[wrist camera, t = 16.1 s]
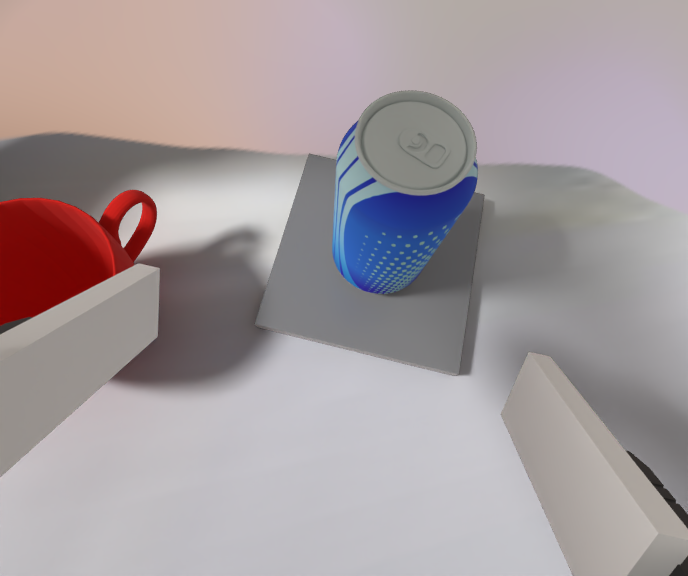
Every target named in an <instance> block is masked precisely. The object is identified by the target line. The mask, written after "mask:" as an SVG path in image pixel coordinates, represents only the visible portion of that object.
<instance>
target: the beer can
mask: <svg viewBox="0 0 688 576" xmlns="http://www.w3.org/2000/svg"><path fill="white" fill-rule="evenodd" d="M476 149H477V142H476V137H475V133H474V130H473V128H472V126H471V124H470V122H469V121H468V119H467V118H466V116H465V115H464V114H463V113H462V112H461V111H460V110H459V109H458V108H457V107H456V106H454V105H453V104H452V103H450V102H449V101H447V100H445V99H443V98H441V97H439V96H436V95H434V94H431V93H427V92H421V91H399V92H394V93H390V94H387V95H385V96H383V97H381V98H379V99H377V100H376V101H374V102H373V103H372V104H371V105H369V106H368V107H367V108H366V109H365V111H364V112H363V113H362V115H361V117H360V118H359V120H358V121H357V122H356V123H355V124H354V125H353V126H352V127H351V128H350V129H349V131H348V132H347V133H346V135H345V136H344V138H343V140H342V142H341V144H340V147H339V150H338V154H337V161H336V179H335V199H334V220H333V240H332V253H333V258H334V262H335V264H336V267H337V269H338V270H339V272H340V273H341V275H342V276H343V277H344V278H345V279H346V280H347V281H348V282H349V283H350V284H352V285H353V286H355V287H356V288H358V289H360V290H363V291H366V292H369V293H374V294H388V293H393V292H396V291H399V290H401V289H403V288H405V287H407V286H408V285H410V284H411V283H412V282H413V281H414V280H415V279H416V278H417V277H418V275H419V274H420V273H421V271H422V270H423V268H424V267H425V265H426V264H427V263H428V261H429V260H430V258H431V257H432V255H433V254H434V252H435V251H436V250H437V248H438V247H439V245H440V244H441V242H442V241H443V240H444V238H445V237H446V235H447V234H448V232H449V231H450V229H451V228H452V227H453V225H454V224H455V222H456V221H457V219H458V218H459V216H460V215H461V214H462V212H463V211H464V209H465V208H466V206H467V205H468V203H469V202H470V200H471V198H472V196H473V194H474V191H475V188H476V184H477V176H478V167H477V160H476Z"/></svg>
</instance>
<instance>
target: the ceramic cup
mask: <svg viewBox="0 0 688 576" xmlns="http://www.w3.org/2000/svg"><path fill="white" fill-rule="evenodd" d="M141 202H142V215H141V219H140V222H139V224H138V226H137V228H136V230H135V232H134V233H133V235H132V237H131V238H130V240H129V241H128V243H127V244H126V246H125V247H124V248H123V247H122V246H121V241H120V239H119V234H118V230H119V225H120V223H121V220H122V218H123V217H124V215H125V214H126V212H127V211H128V210H129V209H130V208H131V207H133V206H134V205H136V204H138V203H141ZM156 219H157V210H156V205H155V203H154V201H153V200H152V199H151V198H150V197H149V196H148V195H147V194H145V193H144V192H142V191H139V190H128V191H125V192H123V193H121V194H119V195H118V196H117V197H115V198H114V199H113V200H112V201H111V203H110V204H109V205H108V206H107V208H106V209H105V211H104V213H103V215H102V217H101V219H100V221H99V223H98V222H97V221H96V220H95V219H94V218H93V217H92V216H90V215H88V214H87V213H85V212H84V211H82V210H80V209H79V208H77V207H75V206H72V205H70V204H67V203H64V202H61V201H57V200H51V199H44V198H20V199H14V200H9V201H3V202H0V326H1V325H3V324H5V323H9V322H12V321H16V320H20V319H23V318H27V317H35V316H37V315H39V314H41V313H43V312H45V311H47V310H49V309H51V308H53V307H55V306H57V305H59V304H60V303H62V302H64V301H66V300H68V299H70V298H72V297H74V296H76V295H78V294H80V293H82V292H84V291H86V290H88V289H90V288H92V287H94V286H95V285H97V284H99V283H101V282H103V281H105V280H107V279H109V278H111V277H113V276H115V275H117V274H119V273H121V272H123V271H125V270H127V269H128V268H130V267H132V266H134V263H133V262H134V261H135V260H136V258H137V257H138V255H139V254H140V252H141V251H142V249H143V248H144V246H145V245H146V243H147V241H148V240H149V238H150V236H151V234H152V232H153V230H154V227H155V224H156Z"/></svg>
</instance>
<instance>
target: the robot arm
mask: <svg viewBox="0 0 688 576" xmlns="http://www.w3.org/2000/svg"><path fill="white" fill-rule="evenodd" d="M159 284H160V268H157V267H153V266H148V265H144V264H139V263H138V264H136V265H134V266H132V267H130V268H128V269H127V270H125V271H123V272H121V273H119V274H117V275H115V276H113V277H111V278H109V279H107V280H105V281H103V282H101V283H99V284H97V285H95V286H94V287H92V288H90V289H88V290H86V291H84V292H82V293H80V294H78V295H76V296H74V297H72V298H70V299H68V300H66V301H64V302H62V303H60V304H59V305H57V306H55V307H53V308H51V309H49V310H47V311H45V312H43V313H41V314H39V315H37V316H35V317H27V318H23V319H20V320H16V321H12V322H9V323H5V324H3V325H1V326H0V477H1V476H2V475H3V474H4V473H6V472H7V471H8V470H9V469H10V468H11V467H12V466H13V465H15V464H16V463H17V462H18V461H19V460H20V459H21V458H22V457H23V456H25V455H26V454H27V453H28V452H29V451H30V450H31V449H32V448H34V447H35V446H36V445H37V444H38V443H39V442H40V441H41V440H43V439H44V438H45V437H46V436H47V435H48V434H49V433H50V432H51V431H53V430H54V429H55V428H56V427H57V426H58V425H59V424H60V423H62V422H63V421H64V420H65V419H66V418H67V417H68V416H69V415H71V414H72V413H73V412H74V411H75V410H76V409H77V408H78V407H79V406H81V405H82V404H83V403H84V402H85V401H86V400H87V399H88V398H90V397H91V396H92V395H93V394H94V393H95V392H96V391H97V390H99V389H100V388H101V387H102V386H103V385H104V384H105V383H106V382H107V381H109V380H110V379H111V378H112V377H113V376H114V375H115V374H116V373H118V372H119V371H120V370H121V369H122V368H123V367H124V366H125V365H127V364H128V363H129V362H130V361H131V360H132V359H133V358H134V357H135V356H137V355H138V354H139V353H140V352H141V351H142V350H143V349H144V348H146V347H147V346H148V345H149V344H150V343H151V342H152V341H153V340H155V339H156V338H157V337H158V315H159ZM501 416H502V418H503V421H504V423H505V425H506V427H507V429H508V432H509V434H510V436H511V438H512V441H513V443H514V445H515V447H516V450H517V452H518V454H519V456H520V459H521V461H522V463H523V465H524V467H525V470H526V472H527V474H528V476H529V479H530V481H531V483H532V485H533V488H534V490H535V492H536V494H537V496H538V499H539V501H540V503H541V505H542V508H543V510H544V512H545V514H546V517H547V519H548V521H549V523H550V525H551V528H552V530H553V532H554V534H555V537H556V539H557V541H558V543H559V546H560V548H561V550H562V552H563V554H564V557H565V559H566V561H567V563H568V566H569V568H570V570H571V572H572V575H573V576H688V514H687V513H686V512H685V511H684V510H683V508H682V507H681V506H680V505H679V504H676V500H675V499H674V497H673V496H672V495H671V494H670V493H669V491H668V490H667V489H664V488H663V486H664V485H663V484H662V483H661V482H660V481H659V479H658V478H657V477H656V476H655V475H654V473H653V472H652V471H651V470H650V468H649V467H647V466H646V465H645V464H644V463H643V462H641V461H640V460H639V459H638V458H637V457H635V456H634V455H633V454H632V453H631V452H630V451H626V450H624V448H623V447H622V446H621V445H620V443H619V442H618V441H617V440H616V438H615V437H614V436H613V434H612V433H611V432H610V431H609V429H608V428H607V427H606V426H605V424H604V423H603V422H602V421H601V419H600V418H599V417H598V416H597V414H596V413H595V412H594V411H593V409H592V408H591V407H590V406H589V404H588V403H587V402H586V401H585V399H584V398H583V397H582V396H581V394H580V393H579V392H578V391H577V389H576V388H575V387H574V386H573V384H572V383H571V382H570V381H569V379H568V378H567V377H566V376H565V374H564V373H563V372H562V371H561V369H560V368H559V367H558V366H557V364H556V363H555V362H554V360H553V359H552V358H551V357H550V356H546V355H541V354H537V353H533V352H528V354H527V357H526V359H525V361H524V363H523V366H522V368H521V370H520V372H519V374H518V377H517V379H516V381H515V383H514V386H513V388H512V390H511V392H510V395H509V397H508V399H507V401H506V403H505V406H504V408H503V410H502V412H501Z"/></svg>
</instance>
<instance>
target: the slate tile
mask: <svg viewBox="0 0 688 576" xmlns="http://www.w3.org/2000/svg"><path fill="white" fill-rule="evenodd" d="M336 161H337V160H334V159H330V158H326V157H321V156H317V155H313V154H309V155H308V158H307V162H306V165H305V168H304V171H303V174H302V177H301V180H300V183H299V187H298V190H297V193H296V196H295V199H294V202H293V205H292V208H291V212H290V215H289V218H288V221H287V224H286V227H285V230H284V234H283V237H282V240H281V243H280V246H279V249H278V252H277V255H276V259H275V262H274V265H273V268H272V271H271V274H270V277H269V280H268V284H267V287H266V290H265V293H264V296H263V299H262V302H261V305H260V309H259V312H258V315H257V318H256V321H255V325H256V326H257V327H258V328H262V329H266V330H270V331H274V332H278V333H282V334H286V335H290V336H294V337H298V338H302V339H306V340H310V341H314V342H318V343H322V344H326V345H330V346H334V347H339V348H343V349H347V350H351V351H355V352H359V353H363V354H367V355H371V356H375V357H379V358H383V359H387V360H391V361H395V362H399V363H403V364H407V365H411V366H415V367H419V368H423V369H427V370H431V371H435V372H439V373H443V374H447V375H452V376H455V375H459V370H460V363H461V356H462V349H463V342H464V335H465V328H466V321H467V314H468V307H469V300H470V293H471V286H472V279H473V272H474V265H475V258H476V251H477V244H478V237H479V230H480V223H481V216H482V209H483V202H484V195H483V194H479V193H475V192H474V194H473V196H472V198H471V200H470V202H469V203H468V205H467V206H466V208H465V209H464V211H463V212H462V214H461V215H460V216H459V218H458V219H457V221H456V222H455V224H454V225H453V227H452V228H451V229H450V231H449V232H448V234H447V235H446V237H445V238H444V240H443V241H442V242H441V244H440V245H439V247H438V248H437V250H436V251H435V252H434V254H433V255H432V257H431V258H430V260H429V261H428V263H427V264H426V265H425V267H424V268H423V270H422V271H421V273H420V274H419V275H418V277H417V278H416V279H415V280H414V281H413V282H412V283H411V284H410V285H408V286H407V287H405V288H403V289H401V290H399V291H396V292H393V293H388V294H374V293H369V292H366V291H363V290H360V289H358V288H356V287H355V286H353V285H352V284H350V283H349V282H348V281H347V280H346V279H345V278H344V277H343V276H342V275H341V273H340V272H339V270H338V269H337V267H336V264H335V262H334V258H333V253H332V240H333V220H334V199H335V179H336Z"/></svg>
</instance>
